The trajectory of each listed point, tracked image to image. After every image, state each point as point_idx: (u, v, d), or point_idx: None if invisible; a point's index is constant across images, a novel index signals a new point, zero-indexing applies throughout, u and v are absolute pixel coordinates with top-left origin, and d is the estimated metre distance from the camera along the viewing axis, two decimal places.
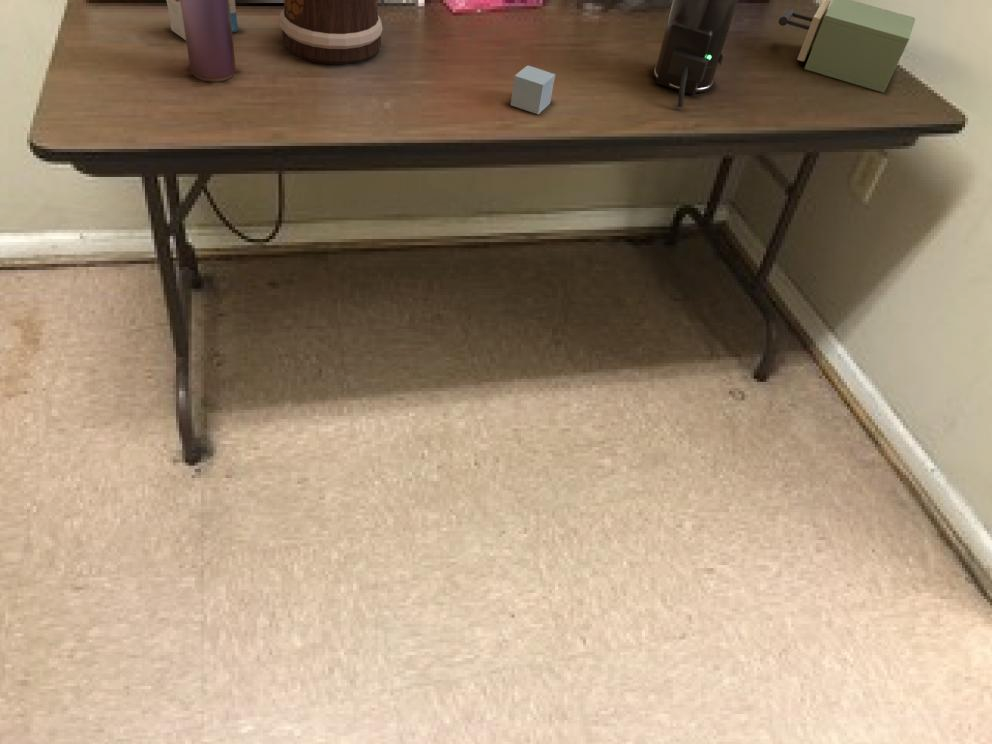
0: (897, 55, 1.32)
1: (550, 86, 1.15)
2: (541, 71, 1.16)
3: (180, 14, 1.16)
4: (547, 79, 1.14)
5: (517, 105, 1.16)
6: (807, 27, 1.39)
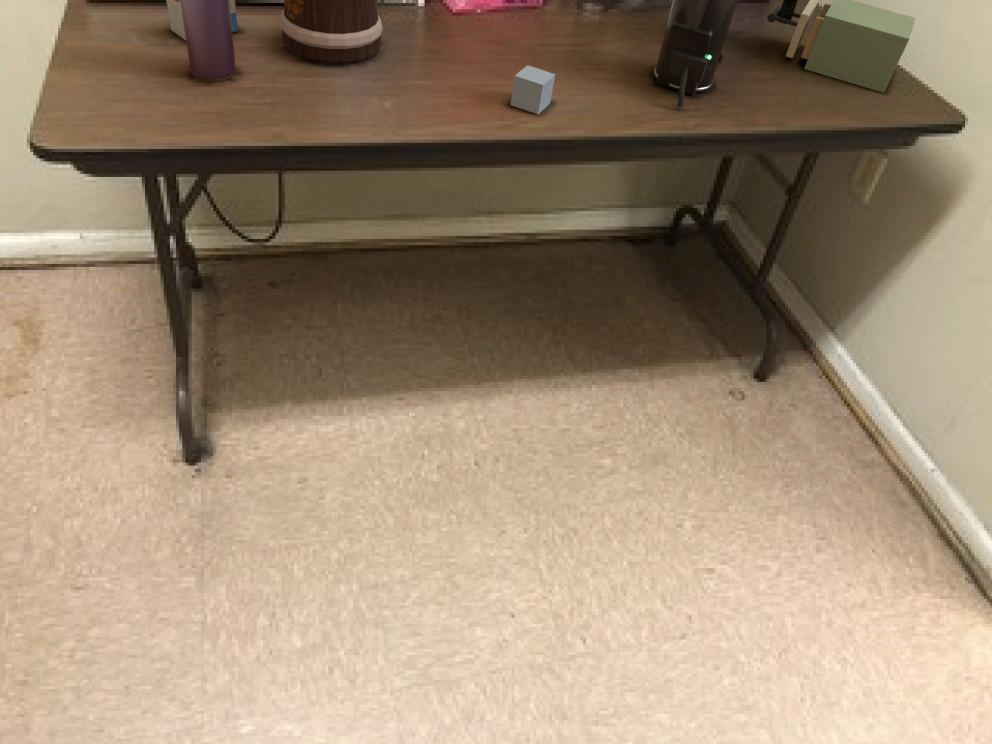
0: (897, 55, 1.32)
1: (550, 86, 1.15)
2: (541, 71, 1.16)
3: (180, 14, 1.16)
4: (547, 79, 1.14)
5: (517, 105, 1.16)
6: (795, 24, 1.39)
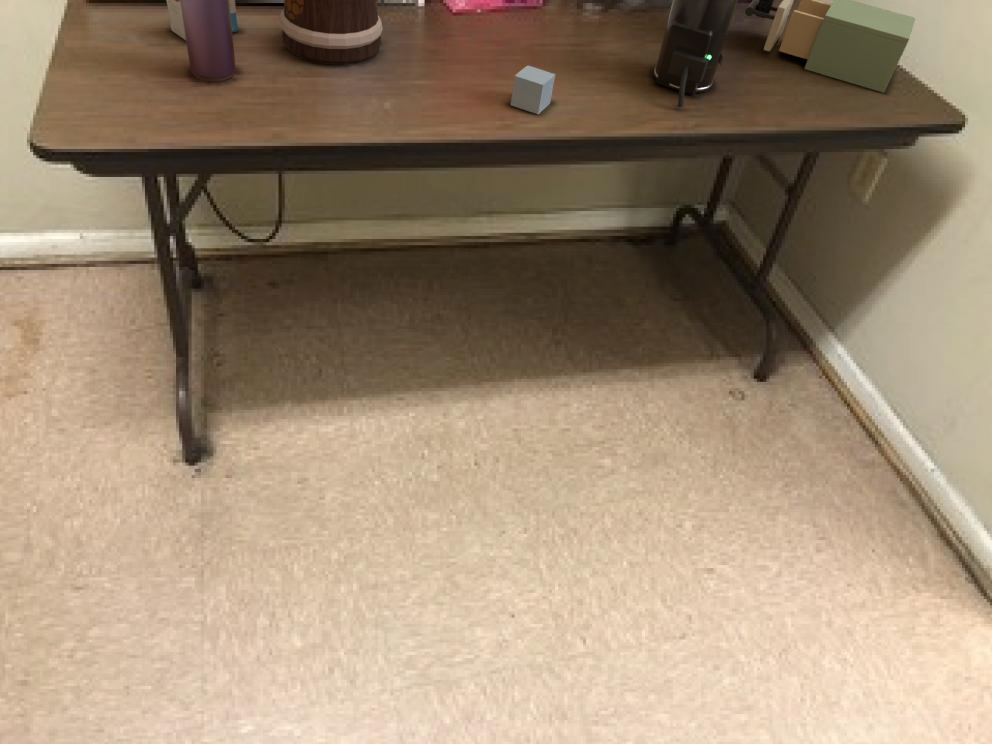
0: (897, 55, 1.32)
1: (550, 86, 1.15)
2: (541, 71, 1.16)
3: (180, 14, 1.16)
4: (547, 79, 1.14)
5: (517, 105, 1.16)
6: (773, 17, 1.40)
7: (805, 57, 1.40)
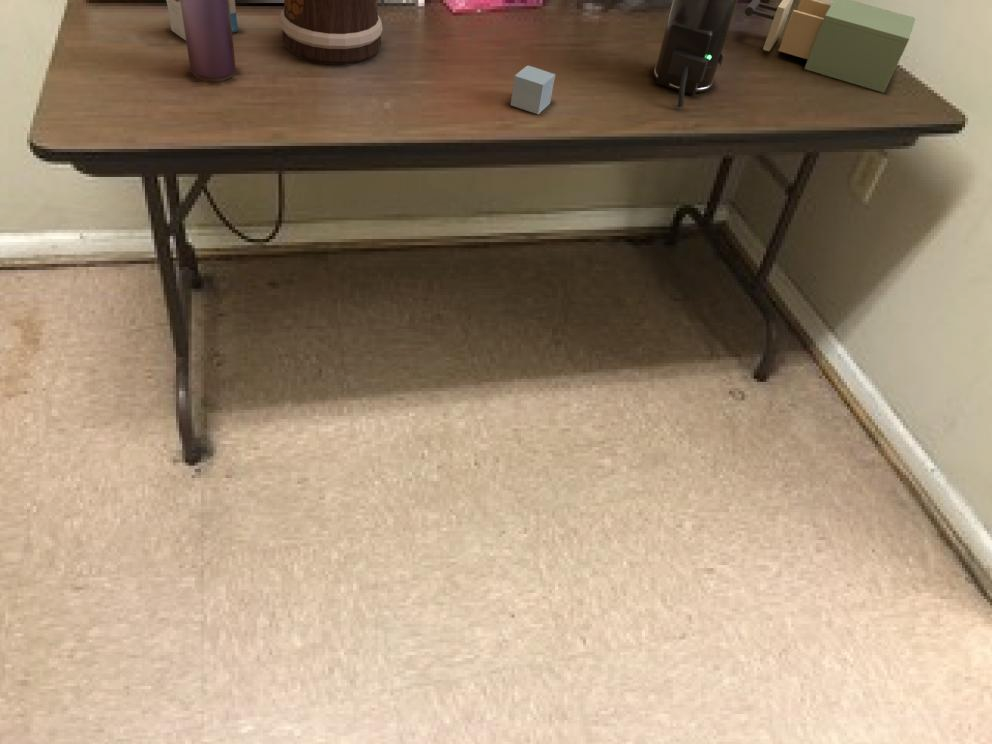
0: (897, 55, 1.32)
1: (550, 86, 1.15)
2: (541, 71, 1.16)
3: (180, 14, 1.16)
4: (547, 79, 1.14)
5: (517, 105, 1.16)
6: (772, 17, 1.40)
7: (805, 56, 1.40)
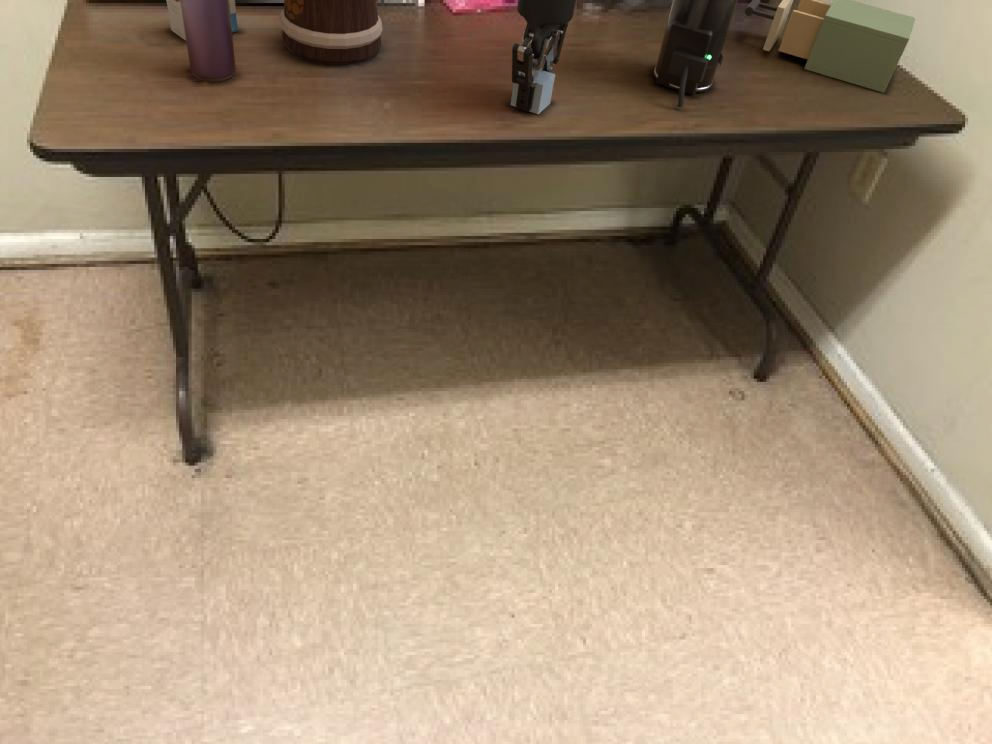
0: (897, 55, 1.32)
1: (550, 86, 1.15)
2: (541, 71, 1.16)
3: (180, 14, 1.16)
4: (547, 79, 1.14)
5: None
6: (772, 17, 1.40)
7: (805, 56, 1.40)
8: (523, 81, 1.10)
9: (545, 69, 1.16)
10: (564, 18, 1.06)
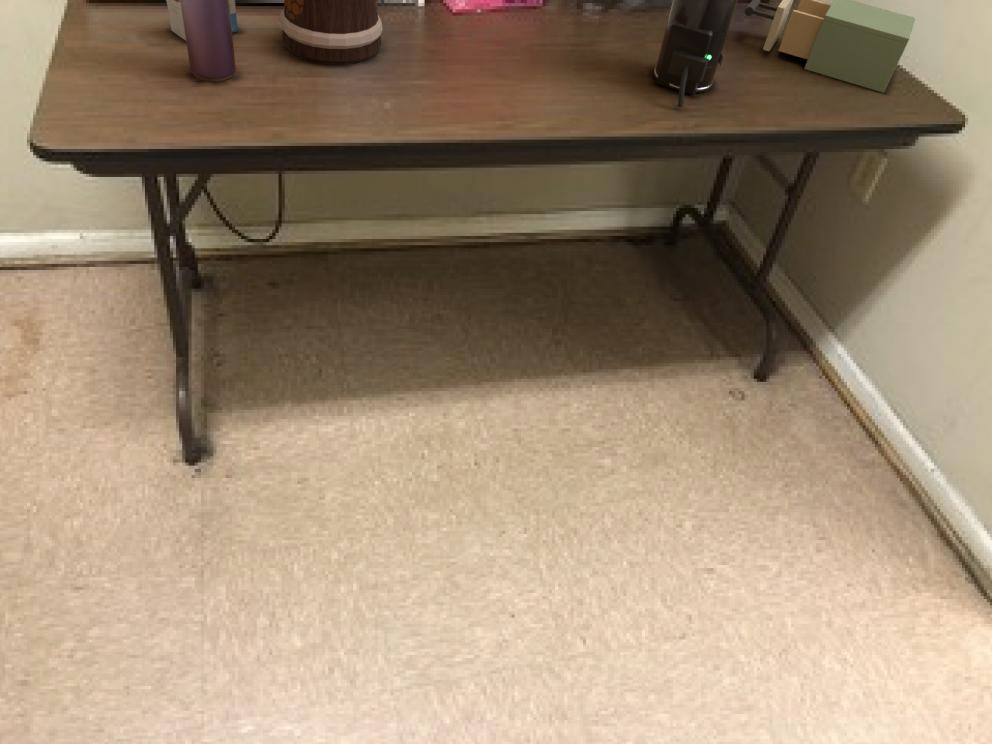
0: (897, 55, 1.32)
1: None
2: None
3: (180, 14, 1.16)
4: None
5: None
6: (772, 17, 1.40)
7: (805, 56, 1.40)
8: None
9: None
10: None
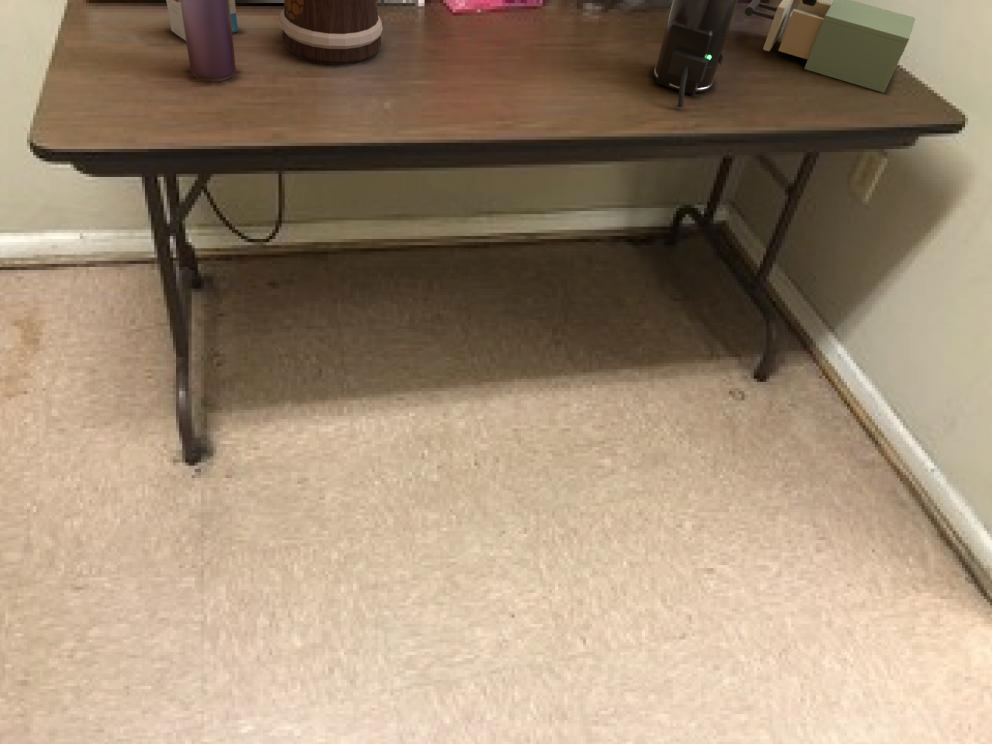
0: (897, 55, 1.32)
1: None
2: None
3: (180, 14, 1.16)
4: None
5: None
6: (772, 17, 1.40)
7: (805, 56, 1.40)
8: None
9: None
10: None
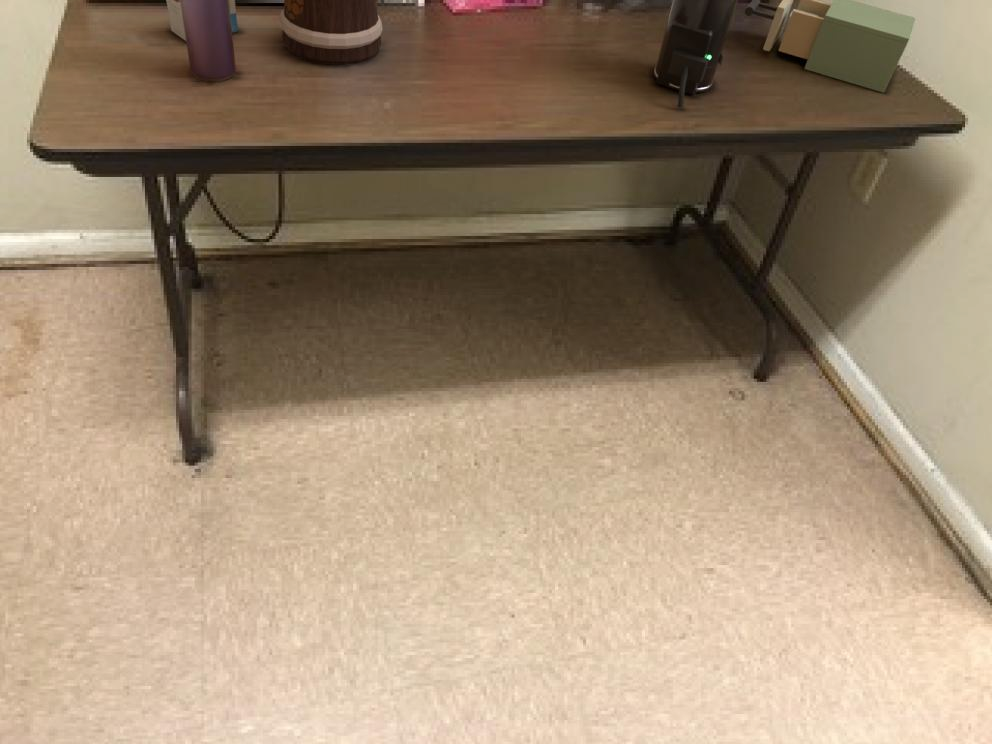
0: (897, 55, 1.32)
1: None
2: None
3: (180, 14, 1.16)
4: None
5: None
6: (772, 17, 1.40)
7: (805, 56, 1.40)
8: None
9: None
10: None
